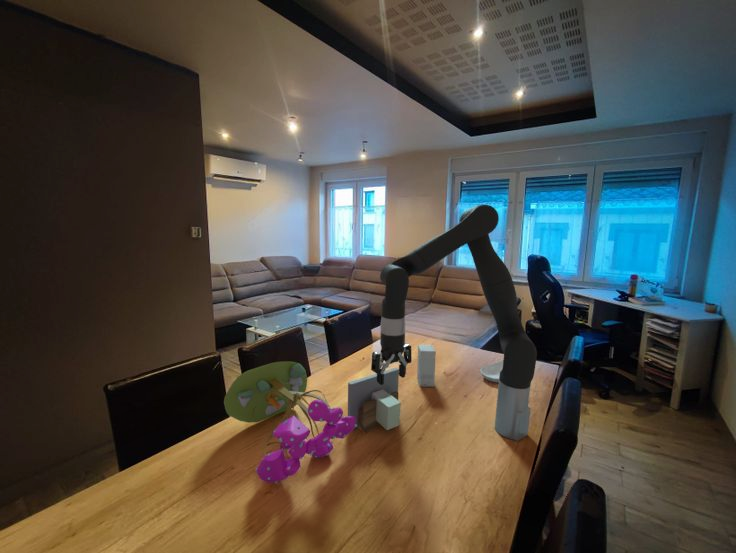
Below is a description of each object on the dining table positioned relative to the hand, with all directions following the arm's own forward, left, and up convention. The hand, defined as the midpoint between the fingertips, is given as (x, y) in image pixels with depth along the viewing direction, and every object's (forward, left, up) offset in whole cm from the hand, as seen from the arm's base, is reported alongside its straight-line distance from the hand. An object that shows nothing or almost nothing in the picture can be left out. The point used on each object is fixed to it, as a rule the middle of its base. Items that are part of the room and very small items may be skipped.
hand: (391, 380), depth 100 cm
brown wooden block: (+6, 0, -18) cm, 19 cm away
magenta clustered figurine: (+11, +29, -19) cm, 36 cm away
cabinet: (+3, 0, -15) cm, 16 cm away
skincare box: (+18, -34, -19) cm, 43 cm away
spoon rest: (+3, -68, -19) cm, 71 cm away
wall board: (+9, 0, -18) cm, 20 cm away
